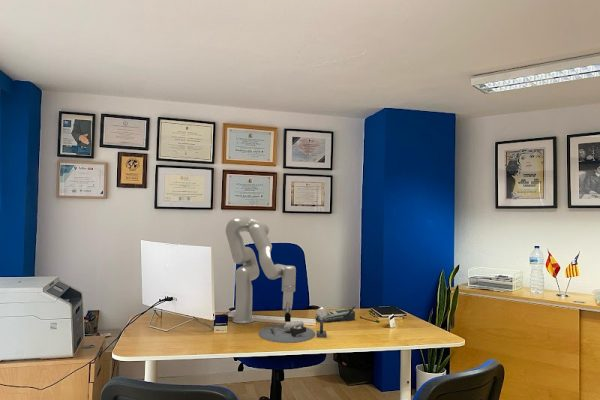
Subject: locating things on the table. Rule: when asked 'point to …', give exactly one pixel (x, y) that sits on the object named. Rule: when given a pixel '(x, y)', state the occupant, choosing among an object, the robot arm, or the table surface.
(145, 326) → the table surface
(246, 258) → the robot arm
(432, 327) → the table surface
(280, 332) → the mat
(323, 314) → the square-base wall hook
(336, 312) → the communication device
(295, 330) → the clip-on lamp
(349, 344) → the table surface
